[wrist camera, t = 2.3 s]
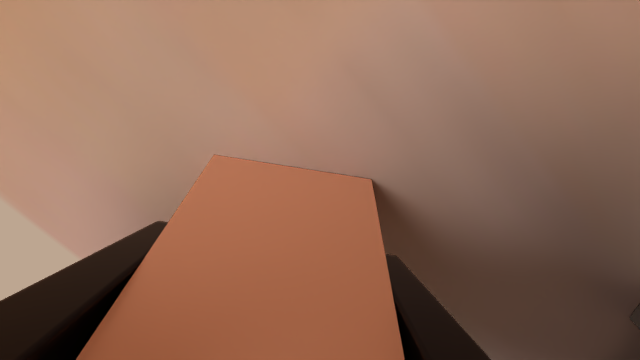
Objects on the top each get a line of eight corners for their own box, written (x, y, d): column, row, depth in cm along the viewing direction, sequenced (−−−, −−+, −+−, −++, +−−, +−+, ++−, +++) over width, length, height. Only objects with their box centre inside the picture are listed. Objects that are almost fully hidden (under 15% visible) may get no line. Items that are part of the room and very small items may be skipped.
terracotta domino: (359, 226, 12) (399, 611, 5) (212, 204, 12) (17, 569, 4) (371, 179, 11) (439, 550, 4) (213, 154, 11) (-18, 497, 4)
